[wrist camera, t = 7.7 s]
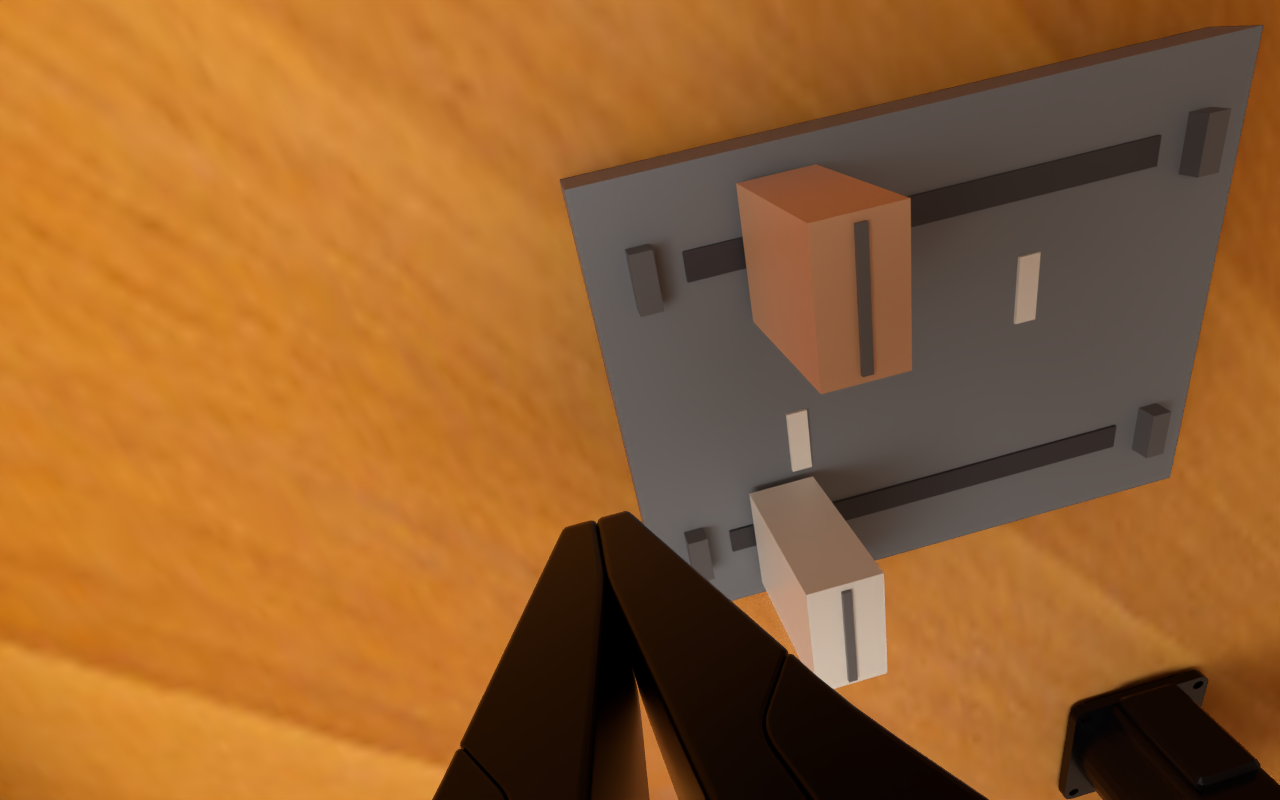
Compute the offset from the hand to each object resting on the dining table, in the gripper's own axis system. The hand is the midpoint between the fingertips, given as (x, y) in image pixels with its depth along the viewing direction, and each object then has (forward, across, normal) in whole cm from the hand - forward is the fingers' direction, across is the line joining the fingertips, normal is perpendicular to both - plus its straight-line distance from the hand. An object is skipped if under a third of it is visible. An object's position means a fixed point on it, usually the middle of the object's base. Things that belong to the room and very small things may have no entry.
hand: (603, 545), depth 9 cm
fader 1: (+9, -6, 0) cm, 11 cm away
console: (+11, -10, +4) cm, 16 cm away
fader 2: (+10, -5, +9) cm, 14 cm away
